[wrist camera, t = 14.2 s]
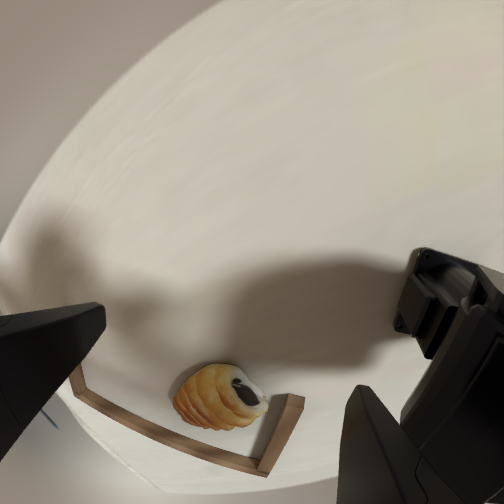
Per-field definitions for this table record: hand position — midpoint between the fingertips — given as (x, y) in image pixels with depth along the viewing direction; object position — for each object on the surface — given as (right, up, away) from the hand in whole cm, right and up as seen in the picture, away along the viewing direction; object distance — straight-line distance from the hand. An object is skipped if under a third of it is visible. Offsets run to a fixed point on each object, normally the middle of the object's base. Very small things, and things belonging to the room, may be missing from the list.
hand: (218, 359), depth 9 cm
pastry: (-2, -10, +16) cm, 19 cm away
